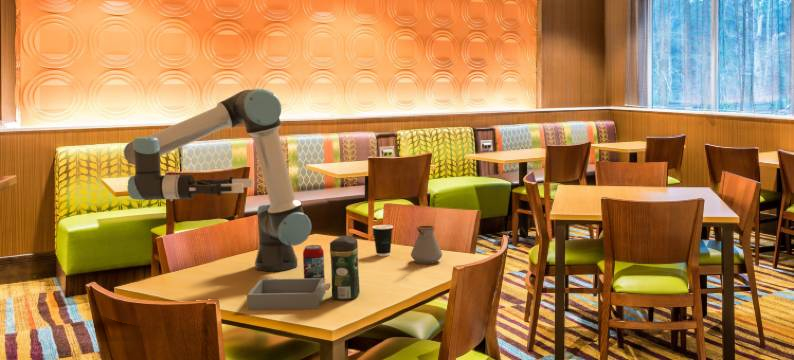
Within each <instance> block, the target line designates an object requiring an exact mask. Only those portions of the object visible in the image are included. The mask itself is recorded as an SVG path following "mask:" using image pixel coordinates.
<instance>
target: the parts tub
mask: <svg viewBox="0 0 794 360" xmlns="http://www.w3.org/2000/svg"><path fill="white" fill-rule="evenodd" d="M330 288H331V283H328V282H327V283H326V278H325V277H324V278H305V279H304V278H265V279H264V278H261V279H259V280H258V281H257V282H256V283H255V285H254V286H253V287H252V288H251V289H250V290H249V292H248V293H247V294H246V301H247V302H246V303H247V311H263V310H264V311H266V310H267V311H268V310H269V311H271V310H272V311H273V310H318V309H319V308H320V306H321V304H322V300H323V299H324V297H325V294H326V291H329V290H330Z"/></svg>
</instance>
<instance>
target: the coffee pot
mask: <svg viewBox="0 0 794 360" xmlns="http://www.w3.org/2000/svg"><path fill="white" fill-rule="evenodd" d="M435 227H436V226H434V225H419V226H416V230H415V234H417V237H416V240H415V242H414V245H413V247H412V250H411V253H410V257H411V258H412V259H413V261H415V262H416V263H417V264H421V265H432V264H436V263H438V261H439V260H441V258H442V257H443V252H442V249H441V247H440V245H439V243H438V240H437V238H436V236H435V233H434V229H435ZM417 232H418V233H417Z"/></svg>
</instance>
